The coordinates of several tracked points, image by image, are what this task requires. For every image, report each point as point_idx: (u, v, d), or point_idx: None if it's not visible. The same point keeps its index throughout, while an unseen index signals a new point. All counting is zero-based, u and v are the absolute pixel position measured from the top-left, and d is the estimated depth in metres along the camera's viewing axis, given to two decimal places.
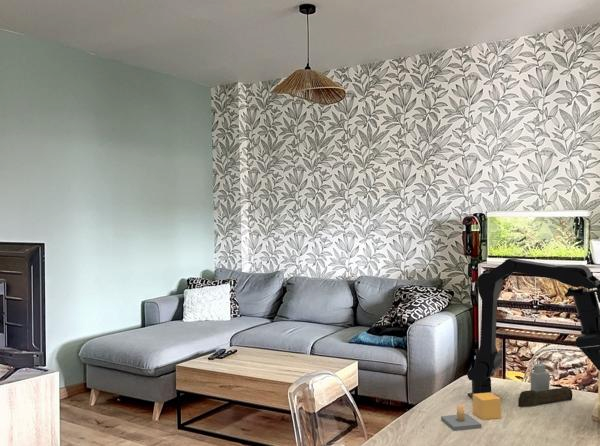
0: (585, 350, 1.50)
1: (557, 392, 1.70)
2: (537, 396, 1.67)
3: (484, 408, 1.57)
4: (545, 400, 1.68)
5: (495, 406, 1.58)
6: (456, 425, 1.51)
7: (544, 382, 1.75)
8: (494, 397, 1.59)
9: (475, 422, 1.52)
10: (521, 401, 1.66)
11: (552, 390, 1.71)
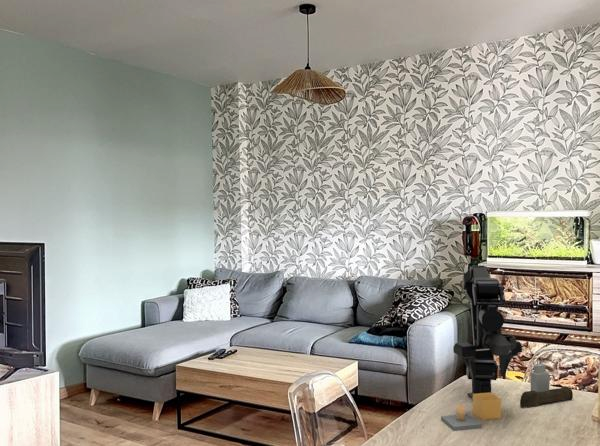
0: (463, 357, 1.60)
1: (558, 392, 1.69)
2: (539, 397, 1.67)
3: (484, 408, 1.57)
4: (546, 400, 1.68)
5: (495, 406, 1.58)
6: (456, 425, 1.51)
7: (544, 382, 1.75)
8: (494, 397, 1.59)
9: (475, 422, 1.52)
10: (523, 401, 1.65)
11: (553, 390, 1.70)
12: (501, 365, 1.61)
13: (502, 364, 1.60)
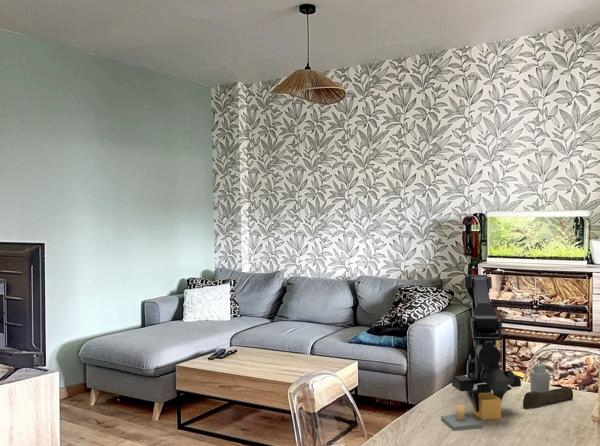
0: None
1: (559, 392, 1.69)
2: (541, 397, 1.66)
3: (484, 408, 1.57)
4: (548, 401, 1.67)
5: (495, 406, 1.58)
6: (456, 425, 1.51)
7: (544, 382, 1.75)
8: (494, 397, 1.59)
9: (475, 422, 1.52)
10: (526, 402, 1.64)
11: (554, 390, 1.70)
12: None
13: None
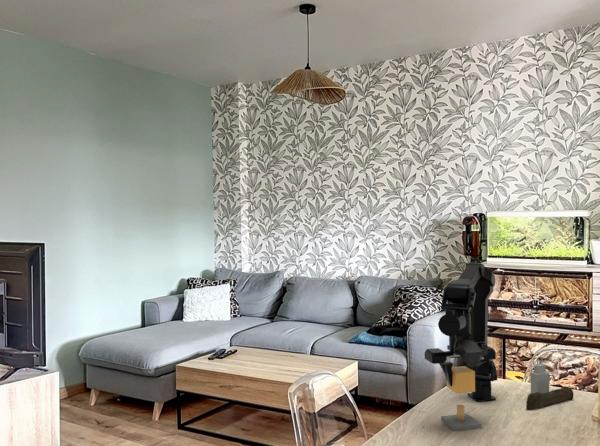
0: None
1: (560, 393, 1.69)
2: (543, 398, 1.65)
3: (458, 381, 1.51)
4: (550, 402, 1.67)
5: (469, 379, 1.51)
6: (456, 425, 1.51)
7: (544, 382, 1.75)
8: (468, 370, 1.53)
9: (475, 422, 1.52)
10: (529, 404, 1.63)
11: (555, 391, 1.70)
12: None
13: None
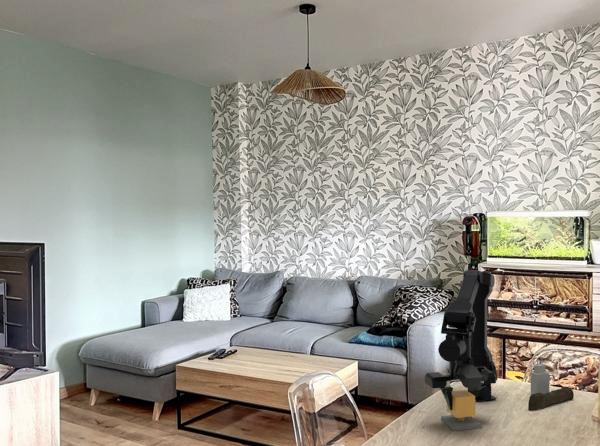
0: None
1: (560, 393, 1.69)
2: (545, 399, 1.65)
3: (458, 406, 1.51)
4: (551, 402, 1.66)
5: (469, 403, 1.52)
6: (456, 425, 1.51)
7: (544, 382, 1.75)
8: (468, 394, 1.53)
9: (475, 422, 1.52)
10: (531, 404, 1.63)
11: (555, 391, 1.69)
12: None
13: None
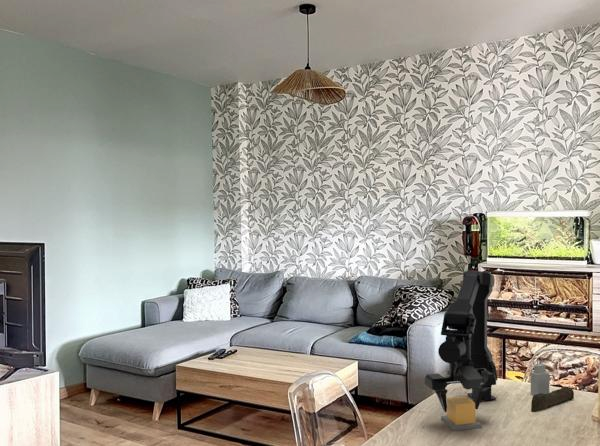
0: None
1: (561, 393, 1.68)
2: (547, 399, 1.64)
3: (458, 413, 1.51)
4: (553, 402, 1.66)
5: (469, 410, 1.52)
6: (456, 425, 1.51)
7: (544, 382, 1.75)
8: (468, 401, 1.53)
9: (475, 422, 1.52)
10: (534, 405, 1.62)
11: (556, 391, 1.69)
12: (474, 397, 1.56)
13: (475, 396, 1.55)
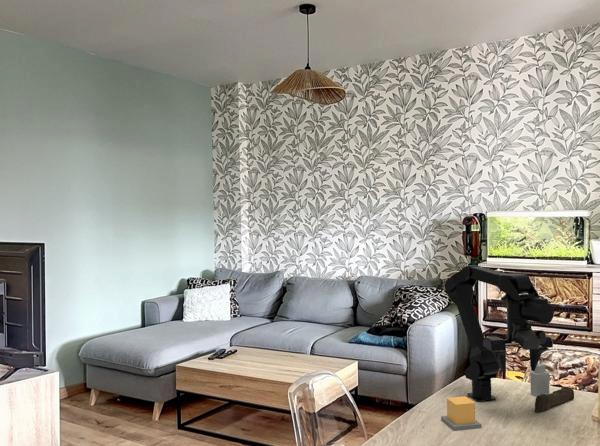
0: (493, 351, 1.62)
1: (563, 393, 1.68)
2: (550, 400, 1.64)
3: (458, 413, 1.51)
4: (555, 403, 1.65)
5: (469, 410, 1.52)
6: (456, 425, 1.51)
7: (544, 382, 1.75)
8: (468, 401, 1.53)
9: (475, 422, 1.52)
10: (537, 406, 1.61)
11: (558, 392, 1.69)
12: (531, 360, 1.62)
13: (532, 359, 1.62)
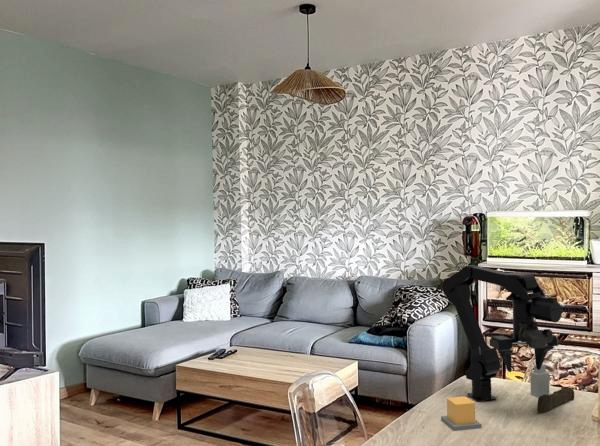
0: (499, 350, 1.63)
1: (563, 393, 1.68)
2: (552, 400, 1.63)
3: (458, 413, 1.51)
4: (557, 403, 1.65)
5: (469, 410, 1.52)
6: (456, 425, 1.51)
7: (544, 382, 1.75)
8: (468, 401, 1.53)
9: (475, 422, 1.52)
10: (540, 407, 1.60)
11: (558, 392, 1.69)
12: (537, 358, 1.63)
13: (538, 357, 1.63)
